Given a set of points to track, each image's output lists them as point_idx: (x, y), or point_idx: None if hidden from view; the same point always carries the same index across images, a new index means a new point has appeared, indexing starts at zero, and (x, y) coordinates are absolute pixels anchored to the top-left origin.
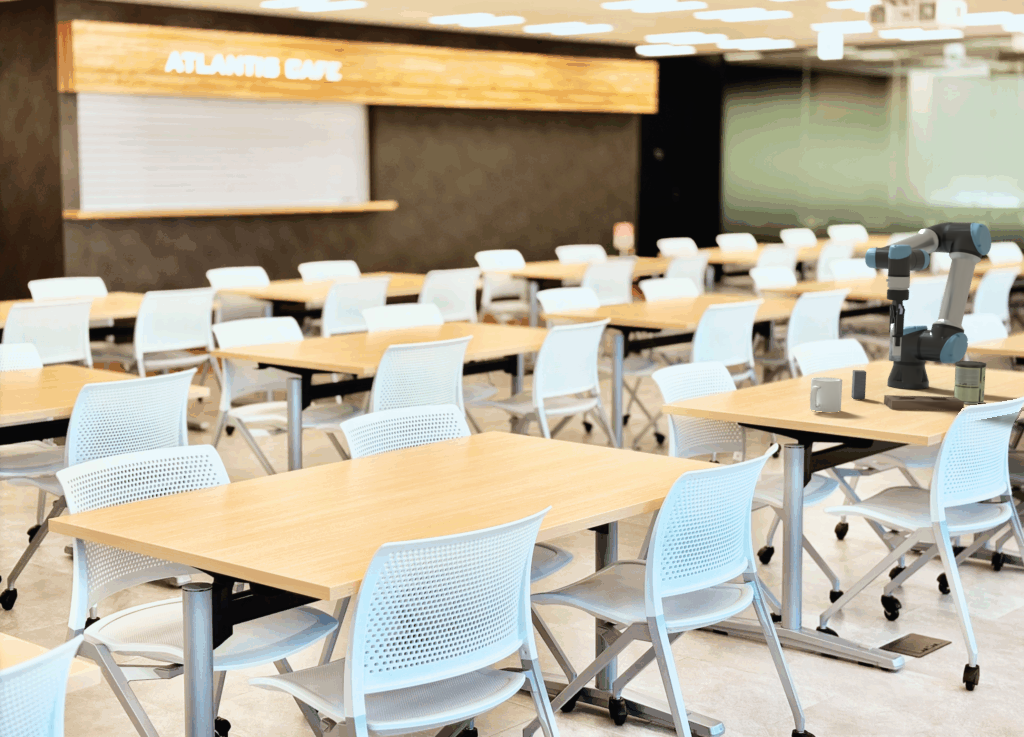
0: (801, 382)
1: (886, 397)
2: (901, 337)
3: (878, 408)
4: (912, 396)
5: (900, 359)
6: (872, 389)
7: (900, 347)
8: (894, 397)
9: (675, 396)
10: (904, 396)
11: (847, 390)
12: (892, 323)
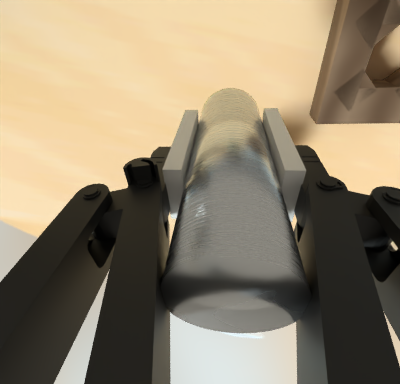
0: (40, 220)
1: (348, 122)
2: (256, 157)
3: (386, 143)
4: (361, 25)
5: (242, 92)
6: (51, 98)
7: (286, 132)
8: (369, 101)
9: (238, 335)
10: (354, 60)
11: (102, 162)
12: (178, 315)
